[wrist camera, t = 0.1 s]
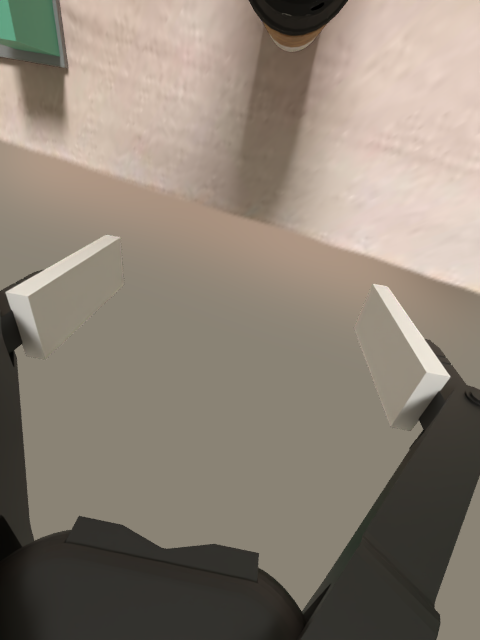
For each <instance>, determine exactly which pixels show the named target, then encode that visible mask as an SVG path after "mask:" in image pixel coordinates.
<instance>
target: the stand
mask: <svg viewBox="0 0 480 640" xmlns="http://www.w3.org/2000/svg"><path fill="white" fill-rule="evenodd" d="M0 57H4V58H10V59H15V60H21V61H27V62H33V63H39V64H45V65H51V66H57V67H63V68H68V63H67V56H66V48H65V41H64V33H63V26H62V18H61V11H60V3H59V0H0Z"/></svg>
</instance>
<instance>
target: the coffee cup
mask: <svg viewBox="0 0 480 640" xmlns="http://www.w3.org/2000/svg"><path fill="white" fill-rule="evenodd" d="M347 1H348V0H249V2H250V4H251V6H252V8H253V9H254V11H255V12H256V14H257V15H258V16H259V18H260V19H261V20H262V22H263V23H264V25H265V27H266V29H267V31H268V32H269V35H270V37H271V38H272V40H273V41H274V43H275V44H276V45H277V46H278V47H279V48H281V49H283V50H285V51H289V52H297V51H300V50H302V49H304V48H306V47H307V46H308V45H310V44H311V43H312V42H313V41H314V39H315V38H316V37H317V35H318V34H319V33H320V32H321V30H322V29H323V28H324V27H325V25H326V24H327V23H328V22H329V21H330V20H331V19H332V18H334V17H335V16H336V15H337V14H338V13H339V11H340V10H341V9H342V8H343V6H344V5H345V4H346V2H347Z"/></svg>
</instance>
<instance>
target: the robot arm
mask: <svg viewBox="0 0 480 640" xmlns="http://www.w3.org/2000/svg"><path fill="white" fill-rule="evenodd" d="M123 286H124V275H123V262H122V249H121V237H116V236H111V235H105V236H103V237H101V238H99V239H98V240H96V241H94V242H93V243H91V244H89V245H87V246H86V247H84V248H82V249H80V250H79V251H77V252H75V253H73V254H71V255H70V256H68V257H66V258H64V259H63V260H61V261H59V262H57V263H56V264H54V265H52V266H51V267H49V268H47V269H44V270H41V271H37V272H34V273H32V274H30V275H28V276H26V277H24V279H21V280H19V281H17V282H16V284H12V285H10V286H9V287H6V288H5V289H3V290H1V291H0V640H436V639H437V636H438V631H439V627H440V614H439V613H438V612H437V611H436V610H435V608H434V604H435V600H436V597H437V594H438V591H439V588H440V585H441V583H442V580H443V577H444V574H445V571H446V568H447V566H448V563H449V560H450V557H451V555H452V552H453V549H454V546H455V543H456V541H457V538H458V535H459V532H460V529H461V526H462V523H463V521H464V518H465V515H466V512H467V510H468V507H469V504H470V501H471V498H472V496H473V492H474V490H475V487H476V484H477V481H478V479H479V476H480V390H479V389H477V388H474V387H471V386H468V385H466V383H465V382H464V381H463V379H462V378H461V377H460V375H459V374H458V373H457V371H456V370H455V369H454V367H453V366H452V365H451V363H450V362H449V360H448V359H447V358H446V357H445V355H444V354H443V352H442V351H441V350H440V348H439V347H437V346H436V345H435V344H434V343H432V342H431V341H430V340H427V339H424V338H423V337H422V335H421V334H420V332H419V331H418V329H417V328H416V327H415V325H414V324H413V322H412V321H411V319H410V318H409V316H408V315H407V313H406V312H405V311H404V309H403V308H402V306H401V305H400V303H399V302H398V301H397V299H396V298H395V296H394V295H393V293H392V292H391V291H390V289H389V288H388V287H387V286H382V285H377V284H372V286H371V289H370V291H369V293H368V296H367V298H366V300H365V303H364V305H363V307H362V310H361V312H360V314H359V317H358V319H357V321H356V323H355V326H354V331H355V333H356V336H357V338H358V341H359V344H360V347H361V349H362V352H363V354H364V358H365V360H366V363H367V366H368V368H369V371H370V374H371V377H372V379H373V382H374V385H375V387H376V390H377V393H378V395H379V398H380V401H381V403H382V406H383V409H384V412H385V414H386V417H387V420H388V422H389V425H390V427H392V428H397V429H402V430H407V431H411V430H412V429H413V428H414V426H415V425H416V424H417V422H418V421H420V423H421V425H422V427H423V429H424V430H423V431H422V432H421V434H420V435H419V436H418V438H417V439H416V440H415V441H414V443H413V444H412V445H411V447H410V450H409V452H408V453H407V455H406V456H405V458H404V459H403V461H402V462H401V464H400V465H399V467H398V468H397V470H396V471H395V473H394V475H393V476H392V478H391V479H390V480H389V482H388V484H387V485H386V487H385V488H384V490H383V491H382V493H381V494H380V496H379V497H378V499H377V500H376V502H375V503H374V505H373V506H372V508H371V509H370V511H369V512H368V514H367V516H366V517H365V519H364V520H363V522H362V523H361V525H360V526H359V528H358V529H357V531H356V532H355V534H354V535H353V537H352V538H351V540H350V542H349V543H348V544H347V546H346V548H345V549H344V551H343V552H342V554H341V555H340V557H339V558H338V560H337V561H336V563H335V564H334V566H333V567H332V569H331V570H330V572H329V573H328V575H327V576H326V578H325V579H324V581H323V582H322V584H321V585H320V587H319V588H318V590H317V591H316V592H315V594H314V595H313V596H312V598H311V599H310V601H309V602H308V603H307V605H306V606H305V608H304V610H303V611H301V610H300V608H299V607H298V605H297V604H296V602H295V601H294V600H293V598H292V597H291V596H290V595H289V593H288V592H287V591H286V590H285V588H283V586H282V585H281V584H280V583H278V582H277V581H276V580H275V579H274V578H273V577H272V576H270V575H269V574H268V573H266V572H265V571H263V570H261V569H259V568H258V557H259V553H256V552H251V551H246V550H241V549H236V548H231V547H226V546H221V545H217V544H210V545H200V546H190V547H181V548H172V549H164V548H161V547H159V546H157V545H155V544H154V543H152V542H151V541H149V540H147V539H146V538H144V537H142V536H140V535H139V534H137V533H135V532H133V531H132V530H130V529H129V528H127V527H125V526H123V525H120V524H115V523H111V522H105V521H101V520H96V519H91V518H86V517H82V516H79V517H78V519H77V521H76V522H75V524H74V526H73V528H72V530H66V531H62V532H58V533H53V534H51V535H48V536H45V537H42V538H40V539H38V540H35V541H34V538H33V534H32V530H31V526H30V520H29V508H28V495H27V482H26V469H25V459H24V458H25V457H24V444H23V432H22V420H21V408H20V407H21V406H20V394H19V382H18V369H17V357H16V354H15V352H14V350H15V349H16V348H17V347H18V346H20V345H21V344H22V345H23V348H24V351H25V354H26V356H28V357H33V358H38V359H43V360H46V359H47V358H48V357H49V356H50V355H51V354H52V353H53V352H54V351H55V350H57V348H59V347H60V346H61V345H62V344H63V343H64V342H65V341H66V340H67V339H68V338H69V337H70V336H71V335H72V334H73V333H74V332H75V331H76V330H77V329H79V327H81V326H82V325H83V324H84V323H85V322H86V321H87V320H88V319H89V318H90V317H91V316H92V315H93V314H94V313H95V312H96V311H97V310H98V309H99V308H101V307H102V306H103V305H104V304H105V303H106V302H107V301H108V300H109V299H110V298H111V297H112V296H113V295H114V294H115V293H116V292H117V291H118V290H119V289H120V288H121V287H123Z"/></svg>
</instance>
